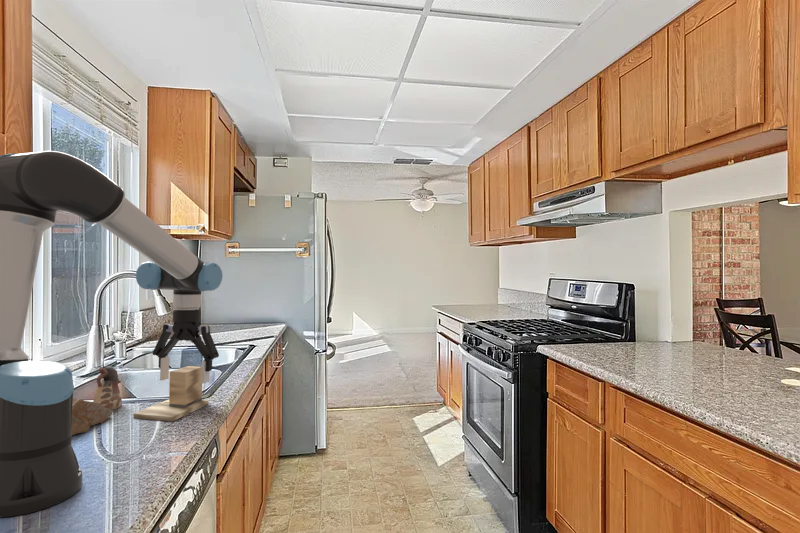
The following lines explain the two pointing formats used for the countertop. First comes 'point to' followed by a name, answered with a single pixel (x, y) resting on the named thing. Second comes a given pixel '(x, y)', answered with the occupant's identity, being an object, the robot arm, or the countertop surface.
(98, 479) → the countertop surface
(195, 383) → the block
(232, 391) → the countertop surface
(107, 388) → the figurine
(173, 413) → the board
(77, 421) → the stone
